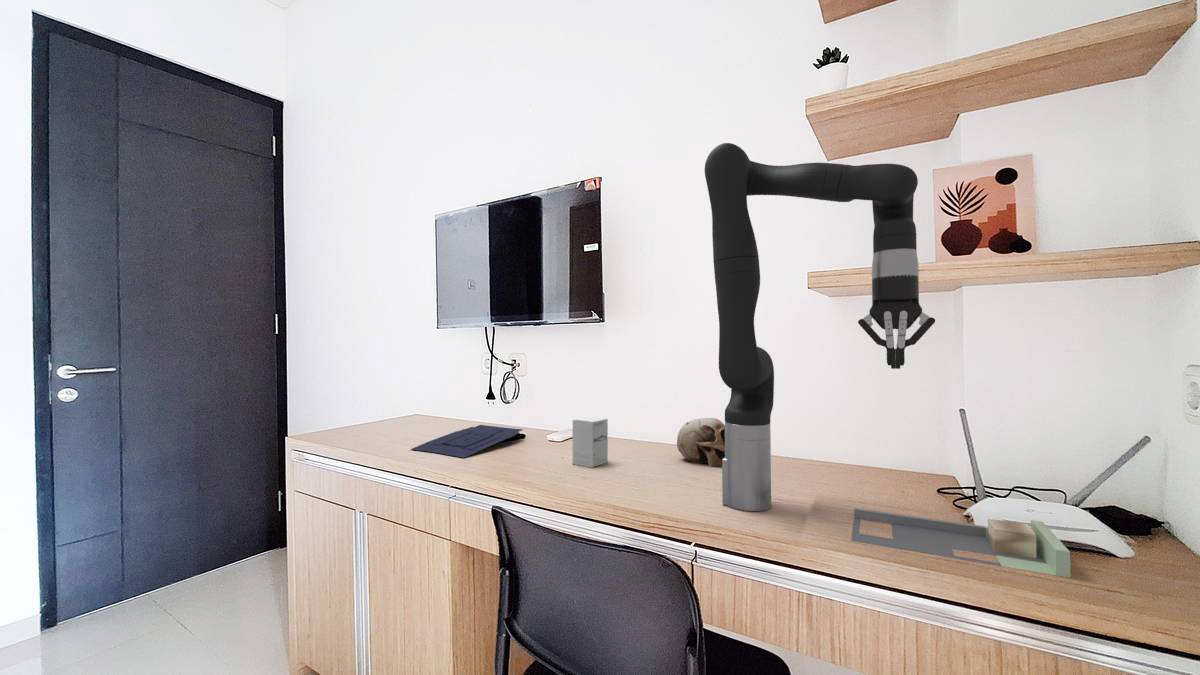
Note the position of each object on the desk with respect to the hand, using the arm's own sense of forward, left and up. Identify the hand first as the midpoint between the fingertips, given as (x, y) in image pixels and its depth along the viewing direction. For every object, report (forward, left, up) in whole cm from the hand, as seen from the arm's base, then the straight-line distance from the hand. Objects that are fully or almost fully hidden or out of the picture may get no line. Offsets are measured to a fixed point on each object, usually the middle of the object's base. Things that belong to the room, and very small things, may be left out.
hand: (895, 368), depth 94 cm
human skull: (-44, +31, -29) cm, 62 cm away
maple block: (+15, -9, -28) cm, 33 cm away
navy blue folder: (-122, +16, -30) cm, 126 cm away
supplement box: (-74, +13, -29) cm, 81 cm away
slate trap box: (+6, -11, -29) cm, 32 cm away
